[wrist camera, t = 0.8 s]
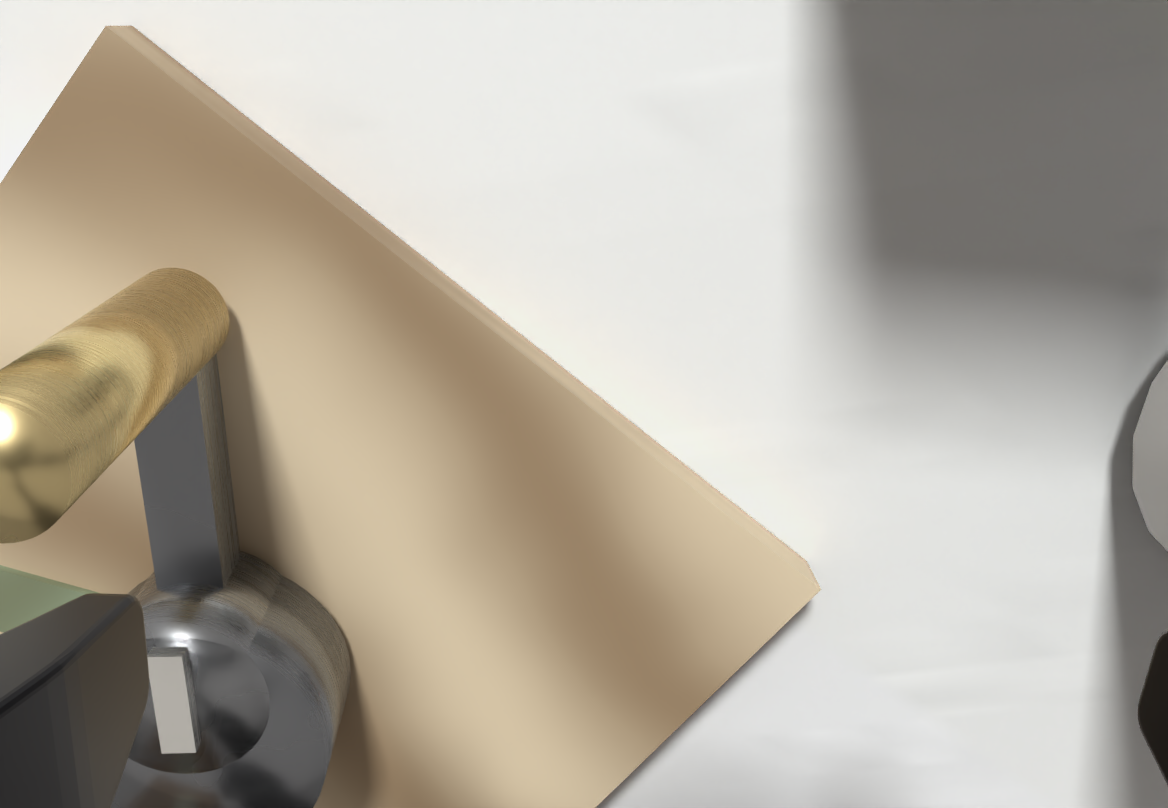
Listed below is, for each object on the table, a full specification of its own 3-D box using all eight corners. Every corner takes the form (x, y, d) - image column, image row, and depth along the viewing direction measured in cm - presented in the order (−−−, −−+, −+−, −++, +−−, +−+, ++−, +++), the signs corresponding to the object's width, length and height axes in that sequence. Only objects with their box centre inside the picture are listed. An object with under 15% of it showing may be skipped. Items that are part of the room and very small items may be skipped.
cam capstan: (358, 764, 22) (286, 1077, 16) (120, 770, 22) (-55, 1090, 15) (318, 264, 18) (199, 400, 12) (30, 265, 18) (-255, 404, 11)
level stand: (324, 1034, 27) (268, 1303, 21) (-320, 694, 22) (-606, 920, 17) (806, 561, 23) (898, 739, 17) (132, 25, 18) (-47, 26, 13)
